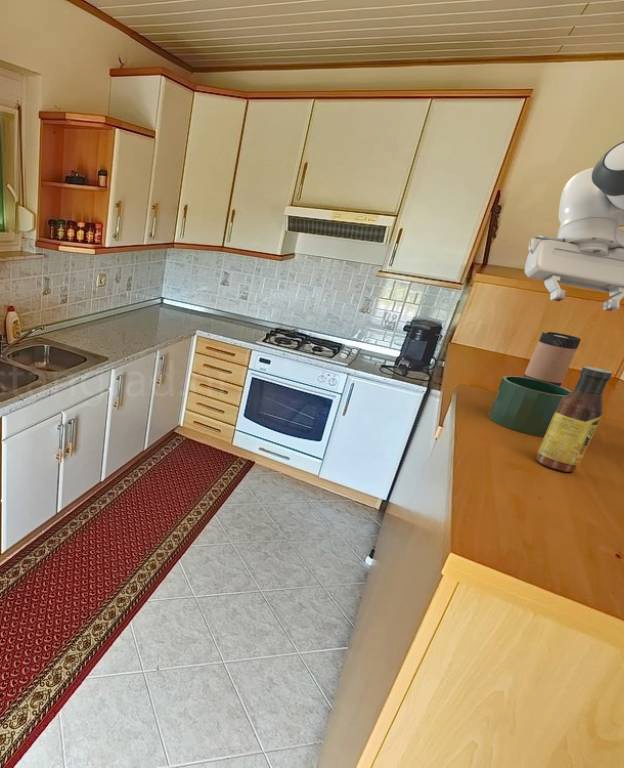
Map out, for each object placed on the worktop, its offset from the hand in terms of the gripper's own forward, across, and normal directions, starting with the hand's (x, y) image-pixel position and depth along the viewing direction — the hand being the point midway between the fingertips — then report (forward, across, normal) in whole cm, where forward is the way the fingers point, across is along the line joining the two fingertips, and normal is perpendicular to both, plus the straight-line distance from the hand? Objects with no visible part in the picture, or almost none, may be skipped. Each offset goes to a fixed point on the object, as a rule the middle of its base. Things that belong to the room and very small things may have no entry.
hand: (584, 304), depth 95 cm
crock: (+17, +8, +27) cm, 33 cm away
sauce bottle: (+31, +2, +9) cm, 32 cm away
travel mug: (+7, +18, +40) cm, 44 cm away
